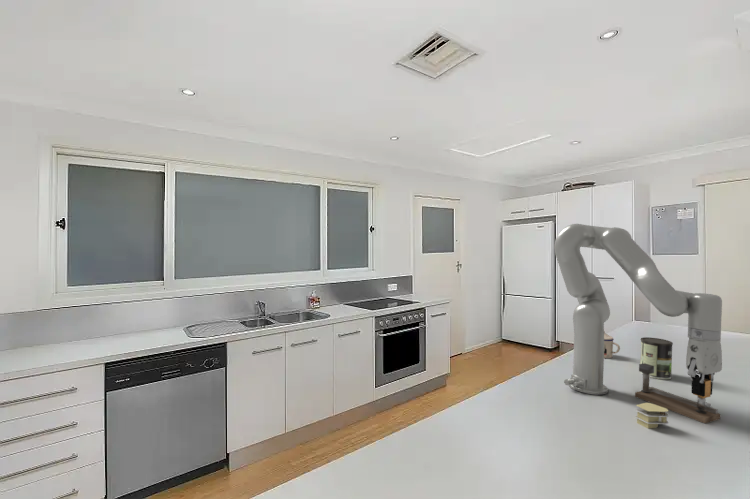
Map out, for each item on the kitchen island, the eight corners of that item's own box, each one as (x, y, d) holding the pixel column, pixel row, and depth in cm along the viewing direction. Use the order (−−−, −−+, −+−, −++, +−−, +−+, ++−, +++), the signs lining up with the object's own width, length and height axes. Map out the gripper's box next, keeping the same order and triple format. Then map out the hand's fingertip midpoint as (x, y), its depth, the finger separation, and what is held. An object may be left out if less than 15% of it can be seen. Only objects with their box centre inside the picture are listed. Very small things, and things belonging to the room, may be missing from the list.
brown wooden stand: (705, 423, 109) (706, 387, 109) (633, 396, 128) (634, 365, 128) (720, 418, 112) (721, 383, 112) (648, 392, 131) (649, 362, 131)
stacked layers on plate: (653, 436, 102) (654, 416, 102) (624, 420, 110) (624, 402, 110) (680, 431, 104) (681, 412, 104) (649, 417, 113) (650, 399, 113)
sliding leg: (704, 413, 111) (705, 381, 111) (692, 409, 114) (693, 378, 114) (713, 410, 113) (714, 379, 113) (701, 406, 116) (703, 376, 116)
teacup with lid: (586, 354, 175) (587, 330, 175) (595, 351, 180) (596, 327, 180) (615, 361, 165) (615, 335, 165) (623, 358, 171) (624, 333, 170)
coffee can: (671, 374, 150) (672, 340, 150) (671, 381, 142) (673, 345, 141) (639, 368, 156) (641, 335, 156) (639, 375, 148) (640, 340, 148)
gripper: (703, 339, 106) (700, 403, 106) (734, 335, 112) (732, 394, 113) (673, 333, 113) (671, 393, 113) (704, 329, 119) (702, 385, 120)
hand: (701, 393), depth 113 cm, fingers closed on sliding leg, 3 cm apart
